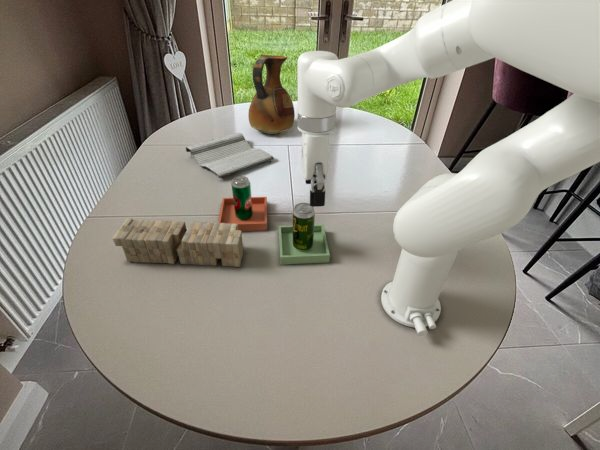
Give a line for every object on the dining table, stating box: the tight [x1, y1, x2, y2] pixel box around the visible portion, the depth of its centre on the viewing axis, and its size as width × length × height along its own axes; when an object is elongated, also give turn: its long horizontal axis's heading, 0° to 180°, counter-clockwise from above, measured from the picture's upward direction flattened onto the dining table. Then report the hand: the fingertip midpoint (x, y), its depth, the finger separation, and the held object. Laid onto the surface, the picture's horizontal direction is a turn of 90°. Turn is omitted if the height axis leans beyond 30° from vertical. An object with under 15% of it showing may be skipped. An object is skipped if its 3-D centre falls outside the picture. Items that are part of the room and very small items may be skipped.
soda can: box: [231, 175, 253, 220], centre depth 93 cm, size 5×5×12 cm
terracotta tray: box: [217, 196, 268, 232], centre depth 96 cm, size 13×13×2 cm
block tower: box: [112, 217, 244, 268], centre depth 82 cm, size 8×8×29 cm
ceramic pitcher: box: [248, 54, 296, 135], centre depth 138 cm, size 20×20×30 cm
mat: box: [185, 132, 275, 180], centre depth 123 cm, size 23×24×5 cm
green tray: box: [278, 224, 331, 265], centre depth 87 cm, size 12×12×2 cm
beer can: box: [292, 202, 316, 252], centre depth 83 cm, size 5×5×12 cm
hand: (314, 193), depth 77 cm, fingers open, 9 cm apart
